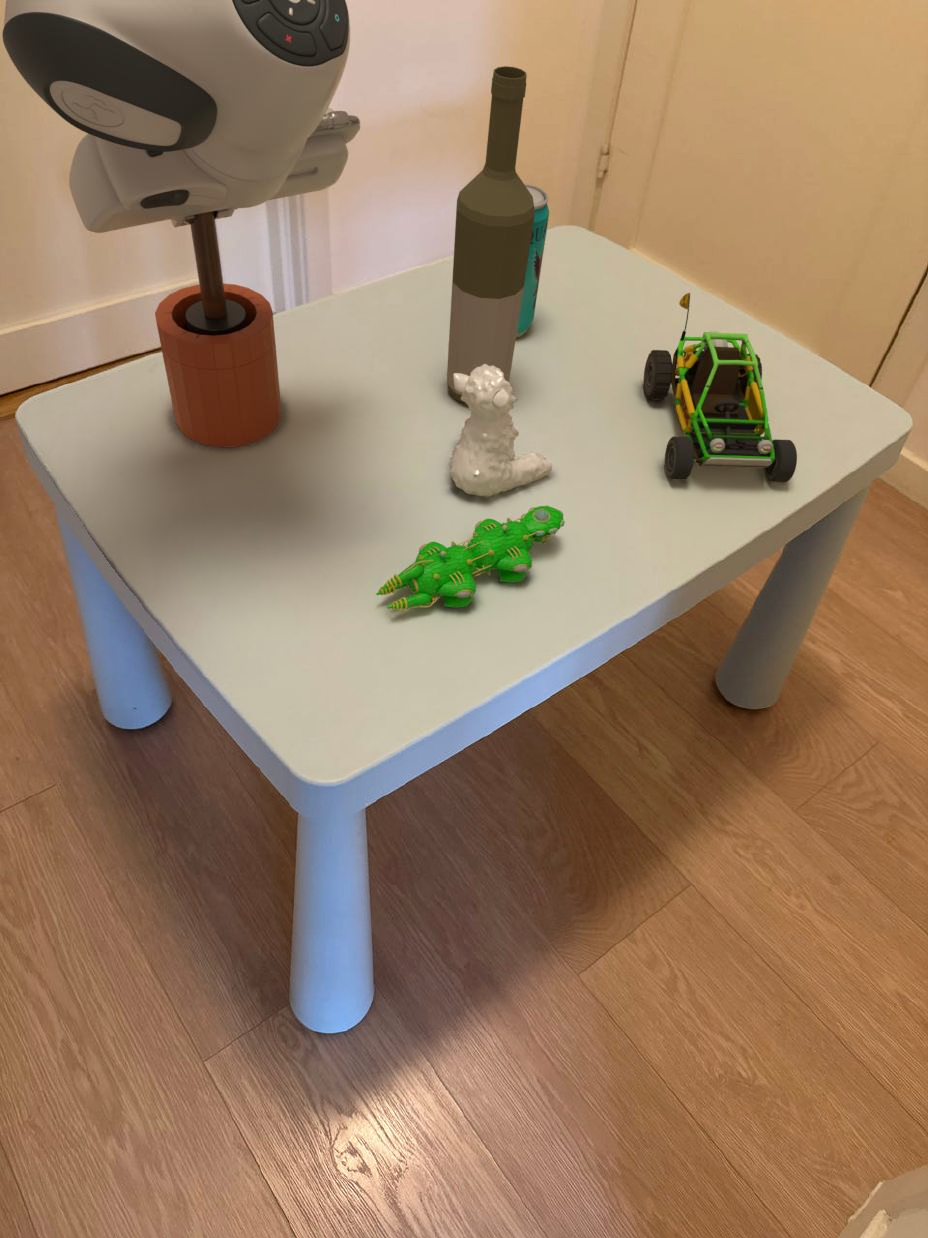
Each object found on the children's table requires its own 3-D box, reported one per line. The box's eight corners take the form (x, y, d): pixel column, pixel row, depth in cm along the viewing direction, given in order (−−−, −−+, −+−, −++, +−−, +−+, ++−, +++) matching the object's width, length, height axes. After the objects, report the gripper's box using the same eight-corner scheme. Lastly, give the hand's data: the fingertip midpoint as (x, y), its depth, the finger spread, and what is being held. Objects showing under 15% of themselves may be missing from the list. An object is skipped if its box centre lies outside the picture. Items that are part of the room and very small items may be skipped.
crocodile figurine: (579, 559, 80) (588, 523, 77) (403, 641, 73) (404, 604, 69) (533, 514, 84) (540, 478, 80) (360, 588, 76) (360, 551, 73)
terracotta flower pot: (180, 453, 85) (160, 349, 77) (170, 390, 92) (150, 287, 83) (289, 440, 88) (280, 337, 80) (271, 379, 94) (262, 278, 86)
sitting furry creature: (553, 474, 88) (574, 365, 79) (505, 523, 83) (521, 412, 74) (470, 434, 91) (482, 325, 82) (419, 479, 86) (425, 368, 77)
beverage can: (532, 343, 102) (552, 209, 91) (480, 339, 102) (494, 204, 90) (530, 315, 106) (550, 183, 94) (481, 311, 105) (494, 178, 94)
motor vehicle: (669, 489, 87) (700, 395, 79) (635, 370, 100) (658, 280, 92) (787, 492, 88) (828, 400, 81) (738, 374, 101) (769, 285, 93)
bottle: (434, 404, 93) (456, 79, 71) (451, 366, 98) (476, 50, 75) (502, 418, 93) (545, 95, 70) (516, 380, 97) (561, 64, 75)
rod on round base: (196, 381, 83) (147, 92, 65) (190, 349, 86) (142, 65, 68) (255, 375, 84) (223, 90, 66) (246, 344, 88) (214, 63, 69)
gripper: (353, 66, 66) (301, 152, 79) (63, 106, 58) (57, 195, 71) (382, 155, 67) (327, 226, 80) (102, 206, 59) (89, 277, 72)
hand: (198, 212), depth 75 cm, fingers closed on rod on round base
